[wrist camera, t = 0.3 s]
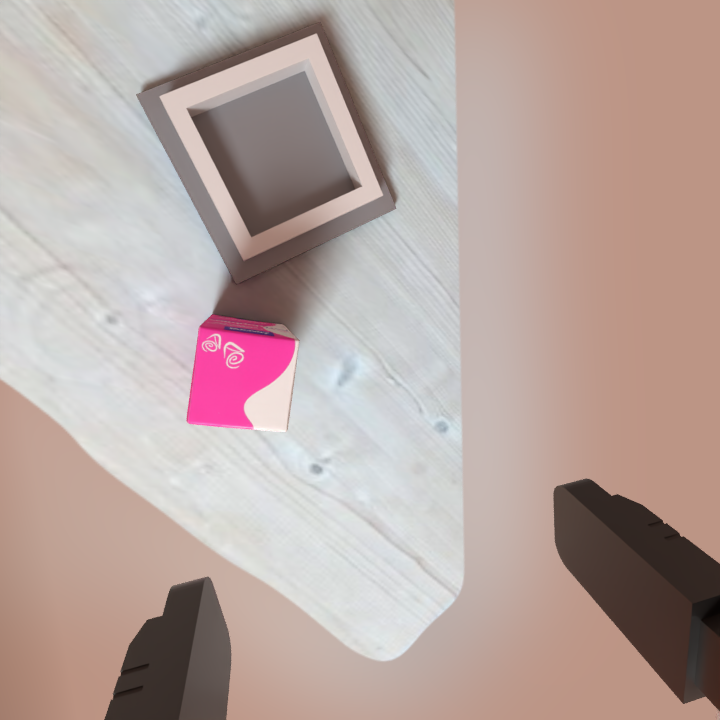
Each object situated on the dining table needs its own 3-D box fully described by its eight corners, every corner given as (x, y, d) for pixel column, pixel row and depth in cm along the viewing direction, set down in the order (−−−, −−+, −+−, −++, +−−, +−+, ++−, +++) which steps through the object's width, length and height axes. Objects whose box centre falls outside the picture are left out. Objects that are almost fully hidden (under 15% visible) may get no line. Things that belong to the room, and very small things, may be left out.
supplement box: (285, 321, 37) (304, 340, 26) (274, 392, 38) (288, 439, 27) (210, 309, 36) (197, 325, 25) (201, 383, 36) (184, 430, 25)
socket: (139, 99, 32) (129, 82, 29) (318, 28, 34) (325, 6, 31) (236, 284, 36) (236, 285, 33) (392, 210, 38) (404, 204, 35)
